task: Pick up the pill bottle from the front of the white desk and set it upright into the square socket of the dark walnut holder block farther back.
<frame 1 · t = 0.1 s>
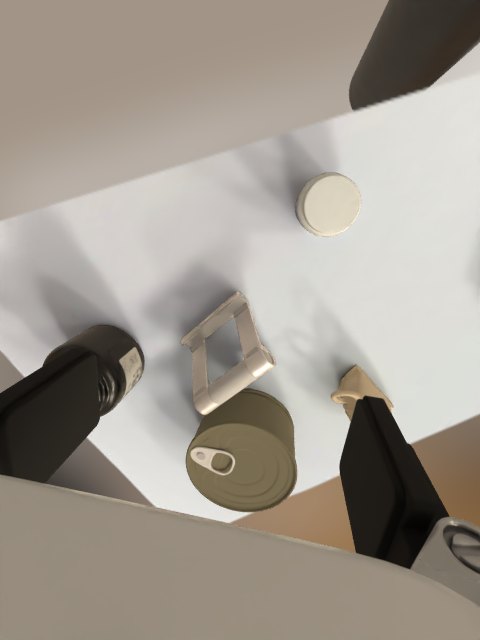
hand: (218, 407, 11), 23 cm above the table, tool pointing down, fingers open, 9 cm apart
pill bottle: (319, 207, 30), on the table
tablet stand: (233, 337, 36), on the table
can: (247, 427, 39), on the table
decorative ornament: (358, 389, 35), on the table
ink bottle: (113, 356, 39), on the table
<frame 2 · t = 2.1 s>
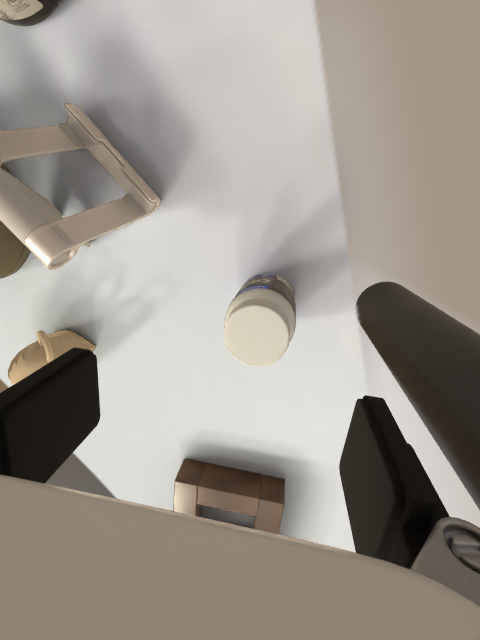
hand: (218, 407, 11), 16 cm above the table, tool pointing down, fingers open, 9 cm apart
pill bottle: (266, 299, 26), on the table
tablet stand: (98, 193, 26), on the table
holder: (229, 506, 34), on the table
decorative ornament: (68, 349, 31), on the table
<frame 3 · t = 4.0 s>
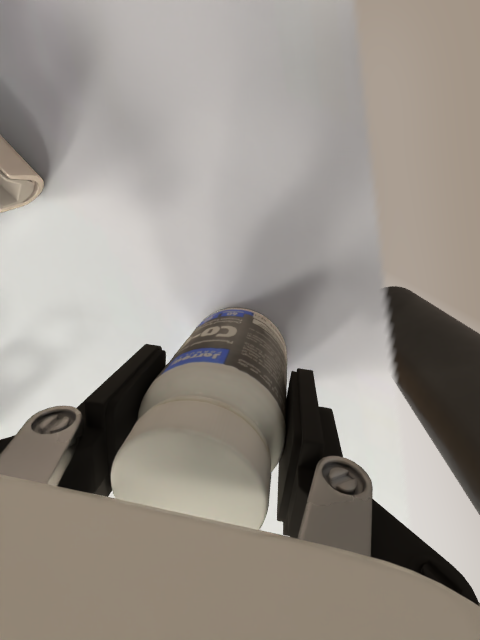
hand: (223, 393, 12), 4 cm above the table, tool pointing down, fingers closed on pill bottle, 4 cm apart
pill bottle: (238, 349, 15), on the table, touching gripper
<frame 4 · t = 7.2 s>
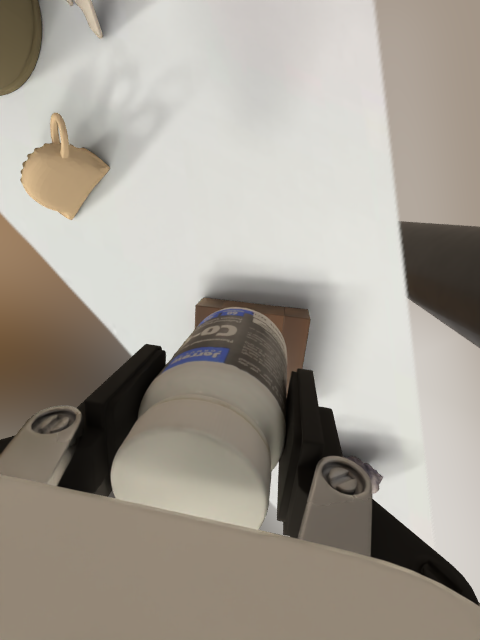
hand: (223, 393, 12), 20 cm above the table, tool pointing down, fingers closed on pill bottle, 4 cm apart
pill bottle: (239, 349, 15), point 16 cm above the table, touching gripper
holder: (250, 351, 33), on the table
decorative ornament: (81, 176, 30), on the table
seashell: (332, 461, 37), on the table
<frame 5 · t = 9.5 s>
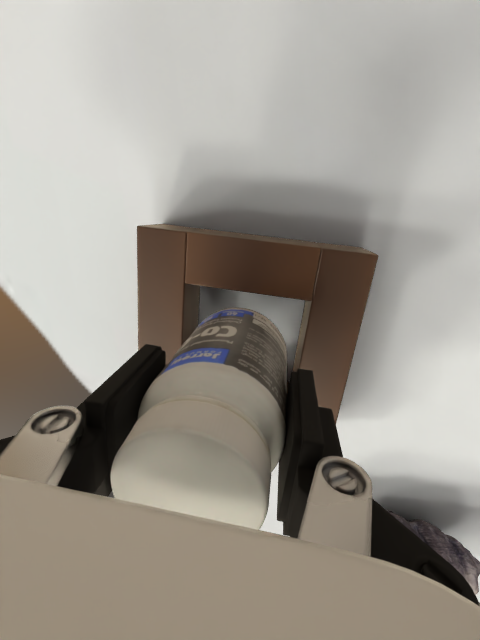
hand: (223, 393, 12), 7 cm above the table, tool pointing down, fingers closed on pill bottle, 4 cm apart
pill bottle: (238, 349, 15), point 3 cm above the table, touching gripper
holder: (247, 329, 18), on the table
seashell: (381, 522, 22), on the table
when the fingers open (4 cm above the table, at t = 10.8 s): pill bottle stays where it is, resting in holder.
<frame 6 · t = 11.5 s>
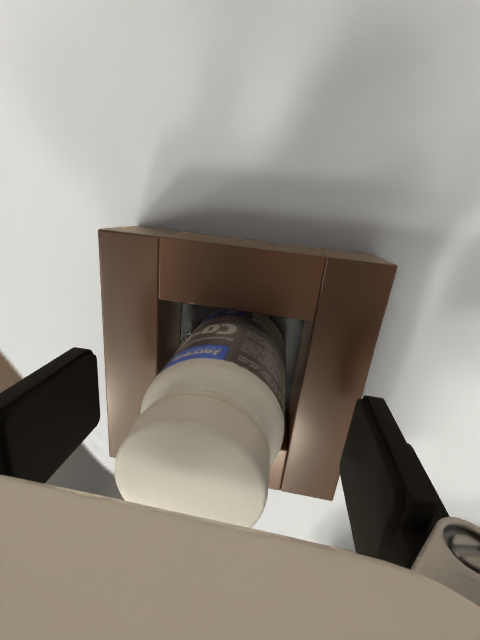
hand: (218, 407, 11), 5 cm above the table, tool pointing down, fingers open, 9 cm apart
pill bottle: (238, 347, 16), resting in holder
holder: (237, 349, 15), on the table
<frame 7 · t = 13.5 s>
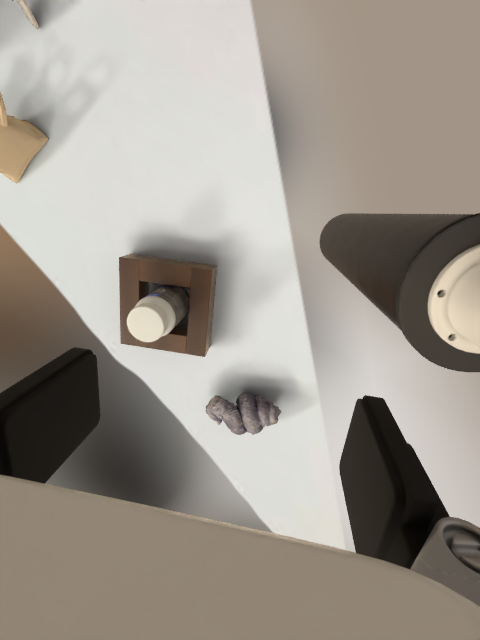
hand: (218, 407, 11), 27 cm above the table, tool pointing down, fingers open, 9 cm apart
pill bottle: (172, 301, 39), resting in holder
holder: (171, 302, 39), on the table
decorative ornament: (24, 145, 35), on the table
seashell: (245, 401, 43), on the table
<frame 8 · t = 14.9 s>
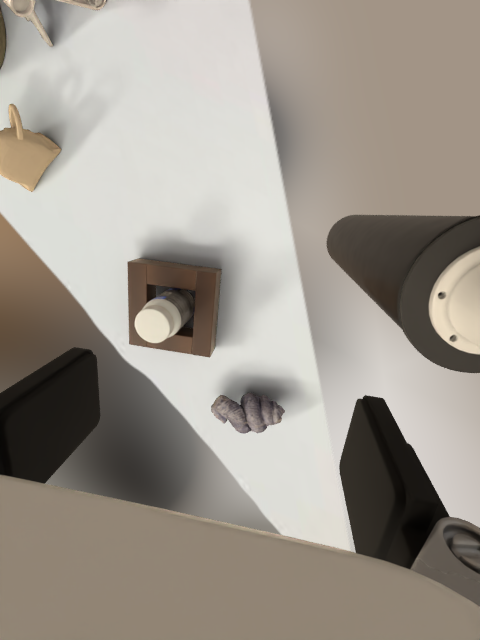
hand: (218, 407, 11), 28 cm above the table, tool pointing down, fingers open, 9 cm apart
pill bottle: (178, 304, 41), resting in holder
holder: (178, 304, 40), on the table
decorative ornament: (39, 156, 37), on the table
seashell: (249, 401, 44), on the table
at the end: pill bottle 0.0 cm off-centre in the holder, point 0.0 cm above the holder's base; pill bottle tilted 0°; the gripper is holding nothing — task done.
